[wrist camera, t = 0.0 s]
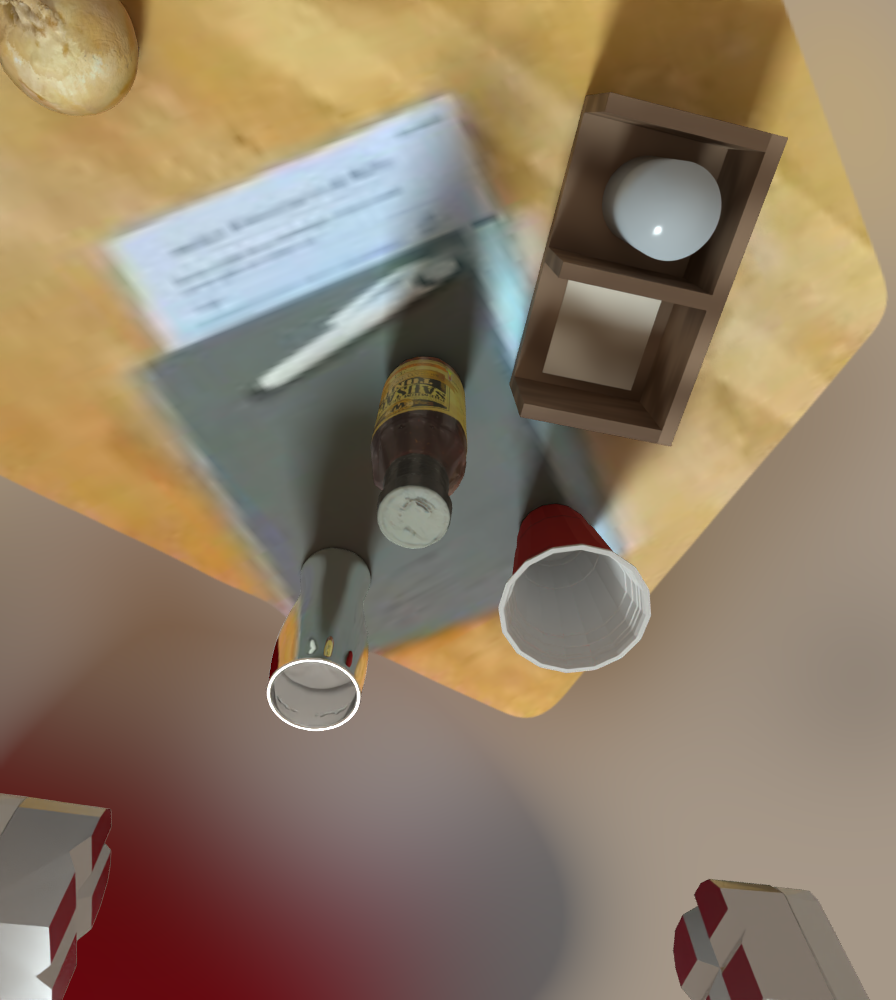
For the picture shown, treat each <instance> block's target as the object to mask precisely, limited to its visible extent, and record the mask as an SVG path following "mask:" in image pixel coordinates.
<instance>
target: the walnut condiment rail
mask: <svg viewBox="0 0 896 1000" xmlns="http://www.w3.org/2000/svg"><path fill="white" fill-rule="evenodd" d="M787 140H788V138H787V137H783V136H779V135H775V134H771V133H767V132H763V131H759V130H756V129H752V128H748V127H744V126H740V125H736V124H732V123H728V122H724V121H721V120H717V119H713V118H709V117H705V116H701V115H697V114H693V113H689V112H685V111H682V110H678V109H674V108H670V107H666V106H662V105H658V104H654V103H650V102H646V101H643V100H639V99H635V98H631V97H627V96H623V95H619V94H615V93H611V92H608V93H601V94H595V95H588V96H586V97H585V101H584V105H583V108H582V112H581V116H580V120H579V123H578V127H577V131H576V135H575V139H574V142H573V146H572V150H571V154H570V158H569V161H568V165H567V169H566V173H565V176H564V180H563V184H562V188H561V192H560V195H559V199H558V203H557V207H556V210H555V214H554V218H553V222H552V226H551V229H550V233H549V237H548V241H547V245H546V248H545V252H544V256H543V260H542V263H541V267H540V271H539V275H538V279H537V282H536V286H535V290H534V294H533V297H532V301H531V305H530V309H529V313H528V316H527V320H526V324H525V328H524V332H523V335H522V339H521V343H520V347H519V350H518V354H517V358H516V362H515V366H514V369H513V373H512V377H511V381H510V384H509V385H510V388H511V391H512V394H513V397H514V400H515V403H516V406H517V409H518V412H519V415H520V417H523V418H529V419H534V420H539V421H544V422H549V423H554V424H559V425H564V426H569V427H574V428H580V429H585V430H590V431H595V432H600V433H605V434H610V435H615V436H620V437H626V438H631V439H636V440H641V441H646V442H651V443H656V444H661V445H666V446H671V444H672V442H673V439H674V436H675V434H676V431H677V429H678V426H679V423H680V421H681V418H682V415H683V413H684V410H685V408H686V405H687V402H688V400H689V397H690V394H691V392H692V389H693V387H694V384H695V381H696V379H697V376H698V373H699V371H700V368H701V366H702V363H703V360H704V358H705V355H706V352H707V350H708V347H709V345H710V342H711V339H712V337H713V334H714V331H715V329H716V326H717V324H718V321H719V318H720V316H721V313H722V310H723V308H724V305H725V302H726V300H727V297H728V295H729V292H730V289H731V287H732V284H733V281H734V279H735V276H736V274H737V271H738V268H739V266H740V263H741V260H742V258H743V255H744V253H745V250H746V247H747V245H748V242H749V239H750V237H751V234H752V232H753V229H754V226H755V224H756V221H757V218H758V216H759V213H760V211H761V208H762V205H763V203H764V200H765V197H766V195H767V192H768V190H769V187H770V184H771V182H772V179H773V176H774V174H775V171H776V169H777V166H778V163H779V161H780V158H781V155H782V153H783V150H784V147H785V145H786V142H787ZM640 156H657V157H663V158H670V159H677V160H683V161H689V162H693V163H696V164H698V165H700V166H702V167H704V168H705V169H706V170H708V172H709V173H710V174H711V175H712V176H713V177H714V179H715V181H716V182H717V184H718V187H719V190H720V194H721V213H720V218H719V221H718V224H717V226H716V229H715V230H714V232H713V234H712V236H711V237H710V238H709V240H708V241H707V242H706V243H705V244H704V245H703V246H702V247H701V248H700V249H699V250H697V251H696V252H694V253H693V254H691V255H689V256H687V257H685V258H682V259H678V260H673V261H663V260H657V259H654V258H652V257H650V256H648V255H646V254H644V253H642V252H641V251H639V250H637V249H636V248H634V247H632V246H631V245H629V244H627V243H626V242H624V241H622V240H621V239H619V238H618V237H616V236H615V235H614V234H613V233H612V232H611V231H610V229H609V228H608V226H607V225H606V222H605V220H604V216H603V211H602V199H603V194H604V190H605V187H606V185H607V183H608V181H609V179H610V178H611V176H612V175H613V173H614V172H615V171H616V170H617V169H618V168H619V167H620V166H621V165H623V164H624V163H626V162H627V161H629V160H631V159H633V158H636V157H640Z"/></svg>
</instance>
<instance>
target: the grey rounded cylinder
mask: <svg viewBox="0 0 896 1000" xmlns="http://www.w3.org/2000/svg"><path fill="white" fill-rule="evenodd" d="M602 211H603V216H604V220H605V222H606V225H607V226H608V228H609V229H610V231H611V232H612V233H613V234H614V235H615V236H616V237H618V238H619V239H621V240H622V241H624V242H626V243H627V244H629V245H631V246H632V247H634V248H636V249H637V250H639V251H641V252H642V253H644V254H646V255H648V256H650V257H652V258H654V259H657V260H663V261H673V260H678V259H682V258H685V257H687V256H689V255H691V254H693V253H694V252H696V251H697V250H699V249H700V248H701V247H702V246H703V245H704V244H705V243H706V242H707V241H708V240H709V238H710V237H711V236H712V234H713V232H714V230H715V229H716V226H717V224H718V221H719V218H720V213H721V194H720V190H719V187H718V184H717V182H716V181H715V179H714V177H713V176H712V175H711V174H710V173H709V172H708V170H706V169H705V168H704V167H702V166H700V165H698V164H696V163H693V162H689V161H683V160H677V159H670V158H663V157H657V156H640V157H636V158H633V159H631V160H629V161H627V162H626V163H624V164H623V165H621V166H620V167H619V168H618V169H617V170H616V171H615V172H614V173H613V175H612V176H611V178H610V179H609V181H608V183H607V185H606V187H605V190H604V194H603V199H602Z"/></svg>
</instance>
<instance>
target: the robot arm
mask: <svg viewBox="0 0 896 1000" xmlns="http://www.w3.org/2000/svg"><path fill="white" fill-rule="evenodd" d="M110 829H111V809H106V808H99V807H92V806H85V805H79V804H72V803H65V802H58V801H51V800H44V799H37V798H30V797H24V796H15V795H8V794H0V1000H62V999H63V996H64V994H65V992H66V989H67V987H68V984H69V982H70V979H71V977H72V975H73V972H74V970H75V967H76V965H77V964H76V958H77V957H76V956H77V951H76V948H77V940H78V939H79V938H81V937H82V936H83V935H84V934H85V933H87V932H88V931H89V930H90V929H91V928H92V926H93V923H94V921H95V918H96V916H97V913H98V910H99V908H100V905H101V902H102V898H103V895H104V892H105V888H106V885H107V881H108V876H109V869H110V864H111V850H110V849H109V848H108V847H107V845H106V844H105V841H106V838H107V836H108V834H109V831H110ZM694 896H695V899H696V902H697V905H698V906H697V907H695V908H693V909H692V910H690V911H688V912H686V913H685V914H683V915H682V917H681V919H680V922H679V923H678V925H677V927H676V930H675V937H674V948H673V953H674V961H675V968H676V972H677V975H678V979H679V982H680V986H681V988H682V989H683V990H684V992H685V993H686V994H687V995H688V996H689V997H690V999H691V1000H870V999H869V997H868V996H867V994H866V992H865V990H864V988H863V986H862V984H861V982H860V980H859V978H858V976H857V974H856V972H855V971H854V968H853V966H852V965H851V963H850V961H849V959H848V957H847V955H846V953H845V951H844V949H843V947H842V945H841V943H840V941H839V939H838V937H837V935H836V933H835V932H834V930H833V928H832V926H831V924H830V922H829V920H828V918H827V916H826V914H825V912H824V910H823V908H822V906H821V904H820V903H819V901H818V899H817V898H816V897H815V896H814V895H813V894H812V893H811V892H810V891H806V890H800V889H791V888H782V887H772V886H770V885H764V884H754V883H744V882H734V881H725V880H715V879H708V880H706V881H704V882H702V883H700V885H699V887H698V889H697V890H696V892H695V894H694Z"/></svg>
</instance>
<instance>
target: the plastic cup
mask: <svg viewBox="0 0 896 1000" xmlns="http://www.w3.org/2000/svg"><path fill="white" fill-rule="evenodd" d="M499 614H500V621H501V627H502V632H503V634H504V635H505V637H506V638H507V640H508V641H509V642H510V644H511V645H512V647H513V648H514V649H515V651H516V652H517V653H518V654H519V655H521V656H523V657H524V658H526V659H527V660H529V661H531V662H532V663H534V664H536V665H537V666H539V667H542V668H547V669H551V670H556V671H561V672H565V673H570V672H580V671H588V670H596V669H598V668H601V667H603V666H605V665H607V664H609V663H611V662H614V661H616V660H618V659H621V658H622V657H623V656H624V655H625V654H626V653H627V652H628V651H629V650H630V649H631V648H632V647H633V646H634V645H635V644H636V643H637V642H638V641H640V640H641V638H642V635H643V633H644V631H645V628H646V626H647V623H648V621H649V619H650V616H651V610H650V594H649V589H648V587H647V586H646V584H645V582H644V581H643V579H642V577H641V576H640V574H639V572H638V570H637V569H636V567H634V566H633V565H632V564H630V563H629V562H627V561H626V560H624V559H623V558H622V557H620V556H619V555H617V554H616V553H614V552H613V551H612V550H611V548H610V547H609V546H608V545H607V544H606V542H605V541H604V540H603V539H602V538H601V536H600V535H599V534H598V533H597V532H596V530H595V529H594V528H593V527H592V526H591V525H589V524H588V523H587V521H586V520H585V519H584V518H583V516H582V515H581V514H579V513H578V512H576V511H575V510H573V509H572V508H570V507H568V506H565V505H560V504H550V505H544V506H541V507H539V508H537V509H535V510H533V511H532V512H530V513H529V514H528V516H527V517H526V518H525V519H524V520H523V522H522V524H521V527H520V530H519V533H518V536H517V548H516V552H515V558H514V566H513V575H512V577H511V578H510V579H509V580H508V581H507V583H506V585H505V589H504V592H503V595H502V598H501V602H500V605H499Z"/></svg>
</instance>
